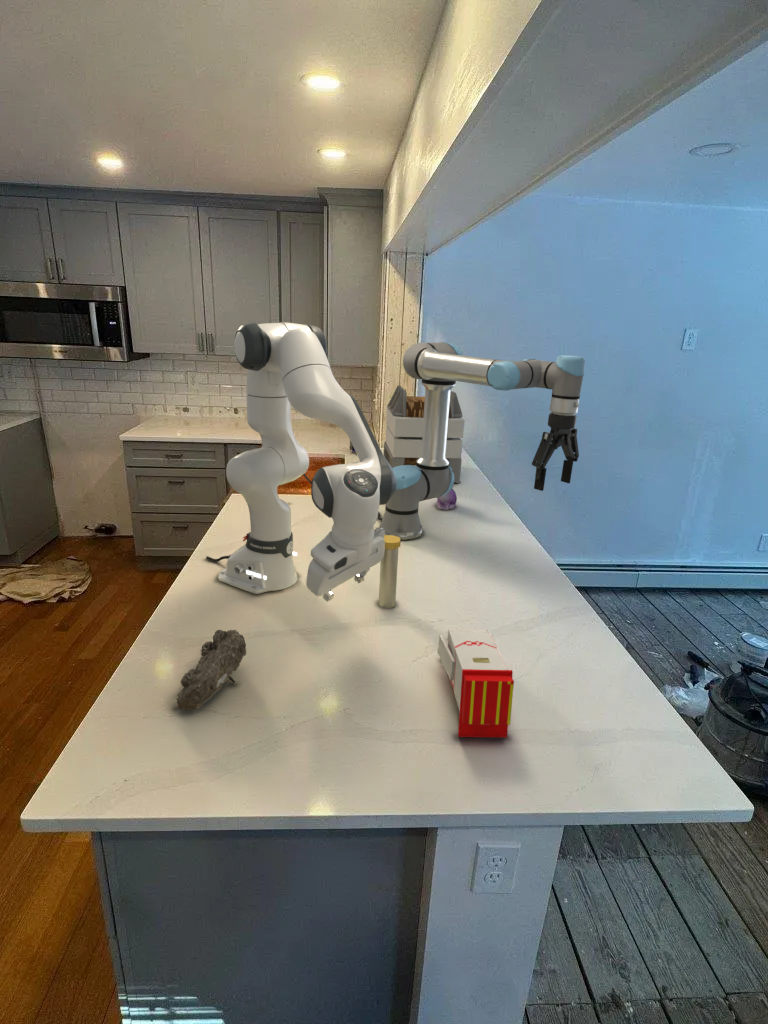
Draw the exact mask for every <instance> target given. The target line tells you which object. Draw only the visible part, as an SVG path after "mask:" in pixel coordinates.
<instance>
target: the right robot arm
mask: <svg viewBox="0 0 768 1024" xmlns="http://www.w3.org/2000/svg"><path fill="white" fill-rule="evenodd" d="M585 365H586V360H585V358H584V357H582V356H578V355H566V354H565V355H564V354H563V355H558V356H557V357H556V360H555V361H549V360H541V359H536V358H524V359H521V360H506V359H505V360H504V359H503V360H502V359H496V358H487V357H479V356H471V355H464V354H463V352H462V350H461V349H460V347H459V346H457V345H456V344H455V343H451V342H445V341H443V342H442V341H441V342H440V341H439V342H438V341H437V342H417V343H414V344H412V345H411V346H409V347H408V348H407V350H406V351H405V353H404V355H403V358H402V366H403V369H404V372H405V373H406V374H407V375H408V376H409V377H411V378H412V379H415V380H421V385H422V386H423V387H424V389H425V392H424V397H425V404H424V419H423V434H422V449H421V457H420V458H418V459H417V461H416V466H413V465H401V466H396V467H394V468H392V469H393V471H394V473H395V475H396V480H397V487H396V490H395V492H394V494H393V496H392V497H391V499H390V500H389V501H388V502H387V503H386V504H384V505H385V507H384V508H385V509H384V513H383V515H382V517H381V513H380V511H378V517H377V520H379V521H381V522H379V525H378V528H383V529H384V531H385V534H384V536H386V535H393V536H397V537H399V538H400V541H410V540H415V539H418V538H420V537H421V536H422V535H423V525H422V524H421V518H420V515H419V507H420V506H419V505H420V502H423V501H427V500H431V499H437V498H438V497H441V496H443V495H445V494H447V493H448V492H449V491H450V490H451V489H453V488H454V484H455V483H454V473H452V469H451V467H450V466H449V462H448V461H447V459H446V458H445V453H446V441H447V428H448V416H449V404H450V392H451V391H452V389H453V388H454V387H455V386H456V384H457V382H461V383H465V384H473V385H479V386H487V387H491V388H492V389H494V390H496V391H503V392H504V391H511V390H520V389H532V388H533V389H534V388H539V389H546V390H551V398H550V404H549V413H548V418H547V419H548V420H547V426H548V427H549V428H550V431H549V432H548V431H543V432H542V435H541V440H540V442H539V445H538V447H537V449H536V452H535V454H534V457H533V460H532V461H531V466H533V467H535V475H534V477H535V478H534V485H533V489H534V490H537V491H539V492H543V491H544V489H545V484H546V483H545V482H546V476H547V468H546V466H547V465H548V463H549V461H550V459H551V457H552V456H553V454H554V453H555V451H556V450H557V449H558V448H560V447H561V449H562V452H563V455H564V458H565V459H563V463H562V468H561V469H562V470H561V475H560V482H562V483H566V484H571V478H572V472H573V466H574V463H576V462H578V461H579V457H580V453H579V444H578V428H576V423H577V419H578V416H577V414H578V412H579V411H578V410H579V406H580V397H581V391H582V385H583V380H584V376H585ZM302 476H304V478H305V479H306V481H307V482H308V483H309V484H311V483H312V480H311V479H309V477H308V476H307V474H306V473H305V474H303V475H302ZM452 487H453V488H452Z"/></svg>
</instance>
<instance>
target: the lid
mask: <svg viewBox="0 0 768 1024" xmlns="http://www.w3.org/2000/svg"><path fill="white" fill-rule="evenodd" d="M383 539H384V540H385V549H397V548H399V549H400V547H401V541H402V540H400V538H399V537H397V536H393V535H386V536H384V538H383Z"/></svg>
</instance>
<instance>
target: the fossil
mask: <svg viewBox="0 0 768 1024" xmlns="http://www.w3.org/2000/svg"><path fill="white" fill-rule="evenodd" d="M200 655H201V657H200V658H199V660H198V662H197V664H196V666H195V668H191V669H189V670H188V671H187V672H185V673H184V675H183V676H182V677H181V678H180V681H179V682H180V684H181V686H182V689H181V690H180V692H178V693H177V694H176V696H177V698H175V700H176V706H177V708H178V709H181V710H183V711H189V710H195V709H200V708H201V707H202V706H203V705H204V704H205V703H206V702H207V701H208V700H210V699H211V698H212V697H213V696H214V695H215V694H216V693H217V692H218V691H219V690H221V689H222V687H223V685H224V683H225V682H226V681H228V680H230V681H231V683H232V684H235V683H236V680H235V679H234V678H233V677H232V676H231V675H232V673H233V672H235V671H237V670H238V668H239V666H240V665H241V662H242V661H243V659H244V657H245V656H247V642H246V639H245V637H244V635H242V634H240V633H239V631H238V630H237V629H230V630H222V629H217V630H216V631H214V634H213V635H212V641H211V640H208V641H206V642H204V643H203V644H202V646H201V649H200Z"/></svg>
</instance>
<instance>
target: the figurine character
mask: <svg viewBox="0 0 768 1024" xmlns="http://www.w3.org/2000/svg"><path fill="white" fill-rule="evenodd" d="M349 451H351V454H353V453H356V451H355V449H354V447H353V445H352V443H351V441H350V440H349Z"/></svg>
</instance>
